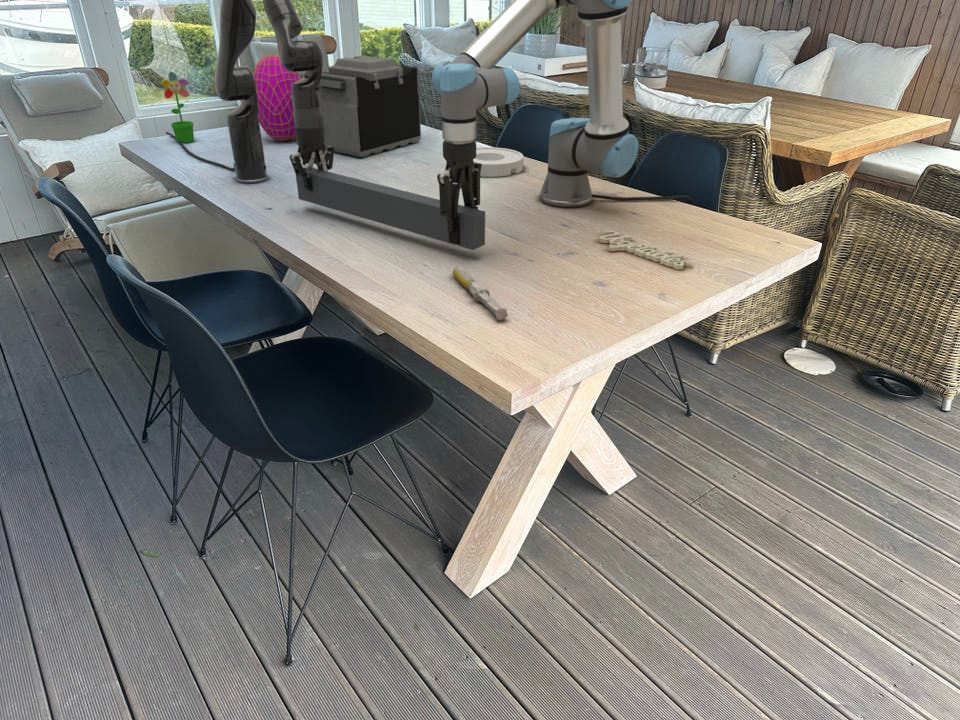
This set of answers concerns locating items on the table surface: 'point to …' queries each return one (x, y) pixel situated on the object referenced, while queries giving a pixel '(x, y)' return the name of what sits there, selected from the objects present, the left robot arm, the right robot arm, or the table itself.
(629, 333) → the table surface
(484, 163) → the ashtray
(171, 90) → the potted flower
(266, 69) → the decorative egg
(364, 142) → the grey tool box
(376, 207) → the bar
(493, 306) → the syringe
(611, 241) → the decorative sign
